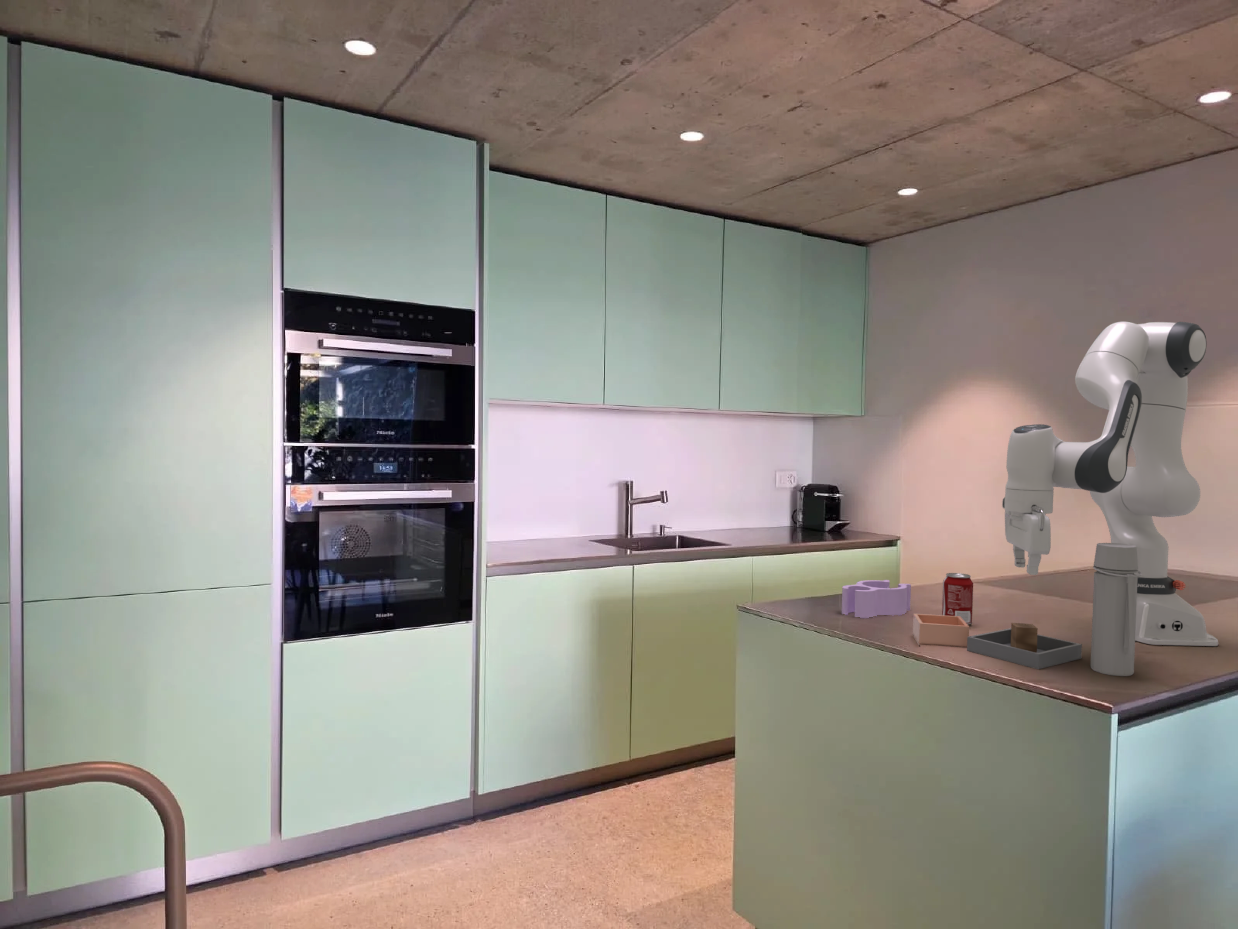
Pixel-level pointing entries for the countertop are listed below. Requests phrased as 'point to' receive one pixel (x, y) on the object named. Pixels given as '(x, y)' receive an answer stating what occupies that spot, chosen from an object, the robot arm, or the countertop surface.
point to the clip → (875, 598)
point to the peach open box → (940, 630)
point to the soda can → (958, 596)
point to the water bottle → (1114, 609)
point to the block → (1024, 636)
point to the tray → (1046, 656)
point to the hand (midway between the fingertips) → (1025, 570)
